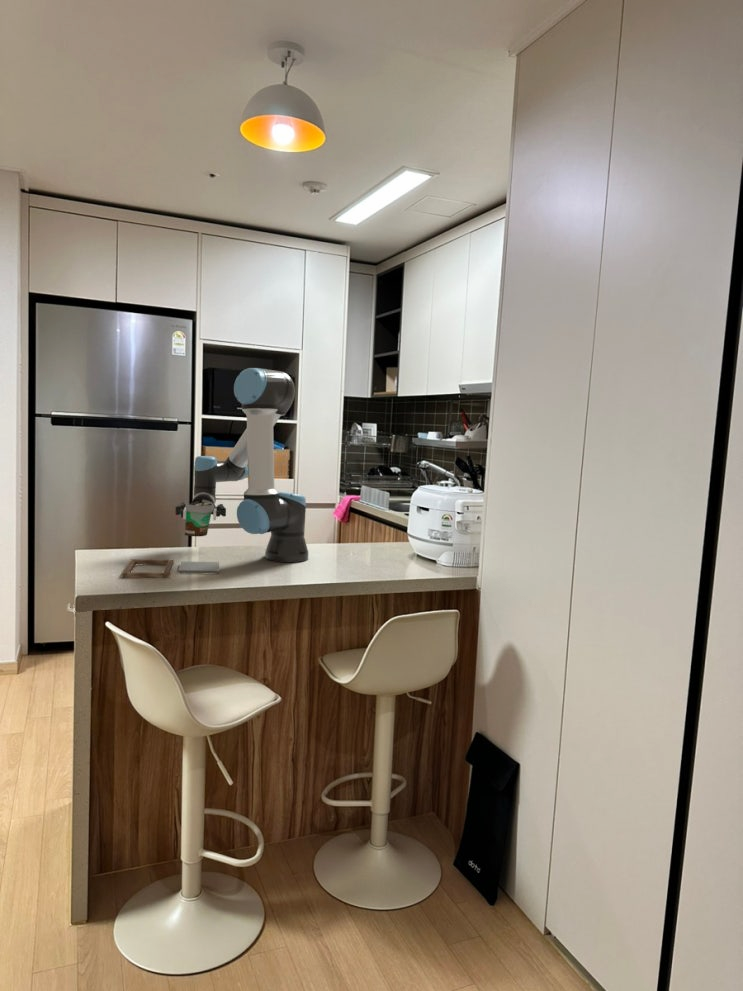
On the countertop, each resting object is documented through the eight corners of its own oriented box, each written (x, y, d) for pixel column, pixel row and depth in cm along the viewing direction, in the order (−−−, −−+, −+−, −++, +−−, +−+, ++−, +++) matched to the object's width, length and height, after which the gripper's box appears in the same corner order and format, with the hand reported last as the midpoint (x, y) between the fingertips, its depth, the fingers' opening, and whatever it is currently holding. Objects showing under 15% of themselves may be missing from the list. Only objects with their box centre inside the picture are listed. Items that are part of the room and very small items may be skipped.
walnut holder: (173, 564, 223) (173, 559, 223) (167, 578, 205) (167, 573, 205) (131, 563, 221) (131, 559, 221) (122, 578, 202) (122, 573, 202)
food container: (201, 539, 211) (205, 508, 210) (182, 535, 212) (186, 504, 211) (217, 532, 223) (221, 502, 222) (199, 529, 224) (203, 499, 223)
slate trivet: (219, 565, 226) (219, 562, 226) (218, 573, 214) (218, 570, 214) (181, 564, 223) (181, 561, 223) (178, 573, 212) (178, 570, 212)
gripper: (234, 516, 237) (234, 528, 215) (170, 514, 233) (163, 526, 211) (235, 494, 236) (234, 504, 214) (171, 492, 232) (164, 502, 210)
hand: (199, 515), depth 212 cm, fingers closed on food container, 8 cm apart
